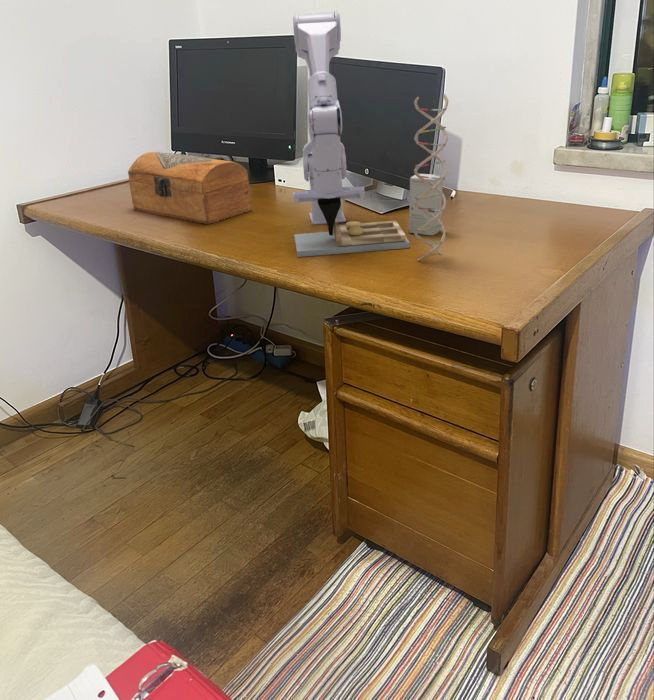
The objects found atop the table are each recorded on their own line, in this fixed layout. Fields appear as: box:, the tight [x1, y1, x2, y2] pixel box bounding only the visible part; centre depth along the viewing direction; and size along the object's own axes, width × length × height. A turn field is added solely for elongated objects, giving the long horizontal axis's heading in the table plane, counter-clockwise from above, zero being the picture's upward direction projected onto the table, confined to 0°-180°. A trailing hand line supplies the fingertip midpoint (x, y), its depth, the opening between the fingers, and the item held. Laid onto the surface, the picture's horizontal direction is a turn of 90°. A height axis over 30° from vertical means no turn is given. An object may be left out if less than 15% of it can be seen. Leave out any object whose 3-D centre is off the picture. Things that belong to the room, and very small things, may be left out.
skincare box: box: [408, 173, 444, 236], centre depth 147 cm, size 6×4×12 cm
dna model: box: [413, 93, 449, 262], centre depth 128 cm, size 7×6×30 cm
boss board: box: [293, 220, 411, 258], centre depth 144 cm, size 12×23×4 cm, turn 95°
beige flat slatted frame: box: [333, 218, 407, 246], centre depth 144 cm, size 11×14×3 cm
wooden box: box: [127, 151, 252, 225], centre depth 175 cm, size 30×16×14 cm, turn 49°
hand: (330, 234), depth 144 cm, fingers closed
